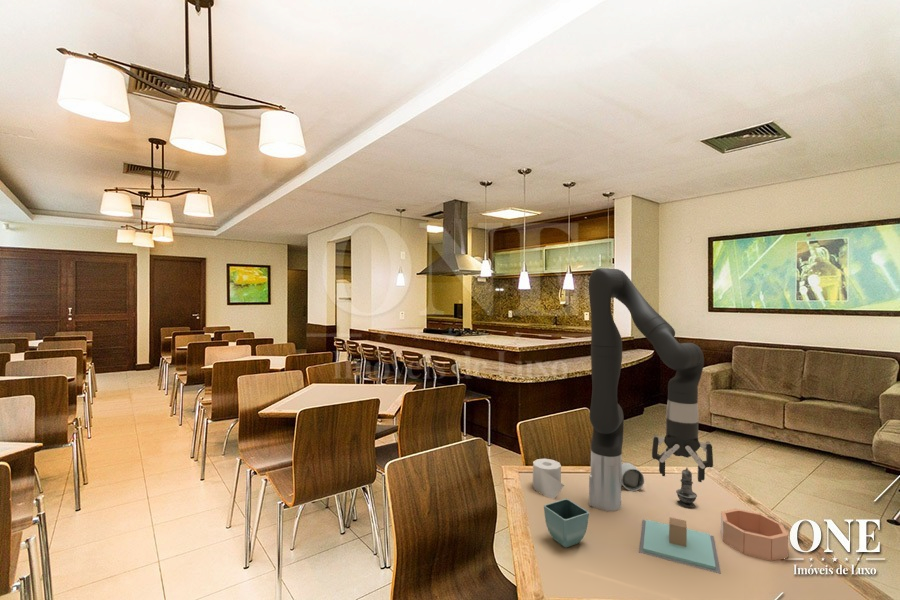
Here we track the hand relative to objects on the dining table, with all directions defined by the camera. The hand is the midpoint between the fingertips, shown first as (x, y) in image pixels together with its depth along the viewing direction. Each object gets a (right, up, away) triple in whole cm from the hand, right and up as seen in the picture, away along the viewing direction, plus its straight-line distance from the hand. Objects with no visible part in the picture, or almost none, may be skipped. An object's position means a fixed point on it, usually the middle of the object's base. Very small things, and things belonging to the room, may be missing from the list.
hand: (681, 478), depth 114 cm
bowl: (+20, -18, +1) cm, 27 cm away
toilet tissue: (-28, -18, +32) cm, 46 cm away
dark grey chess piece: (+14, -18, +23) cm, 32 cm away
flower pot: (-30, -18, +2) cm, 35 cm away
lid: (-1, -18, 0) cm, 18 cm away
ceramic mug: (0, -18, +35) cm, 40 cm away
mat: (-1, -18, 0) cm, 18 cm away
